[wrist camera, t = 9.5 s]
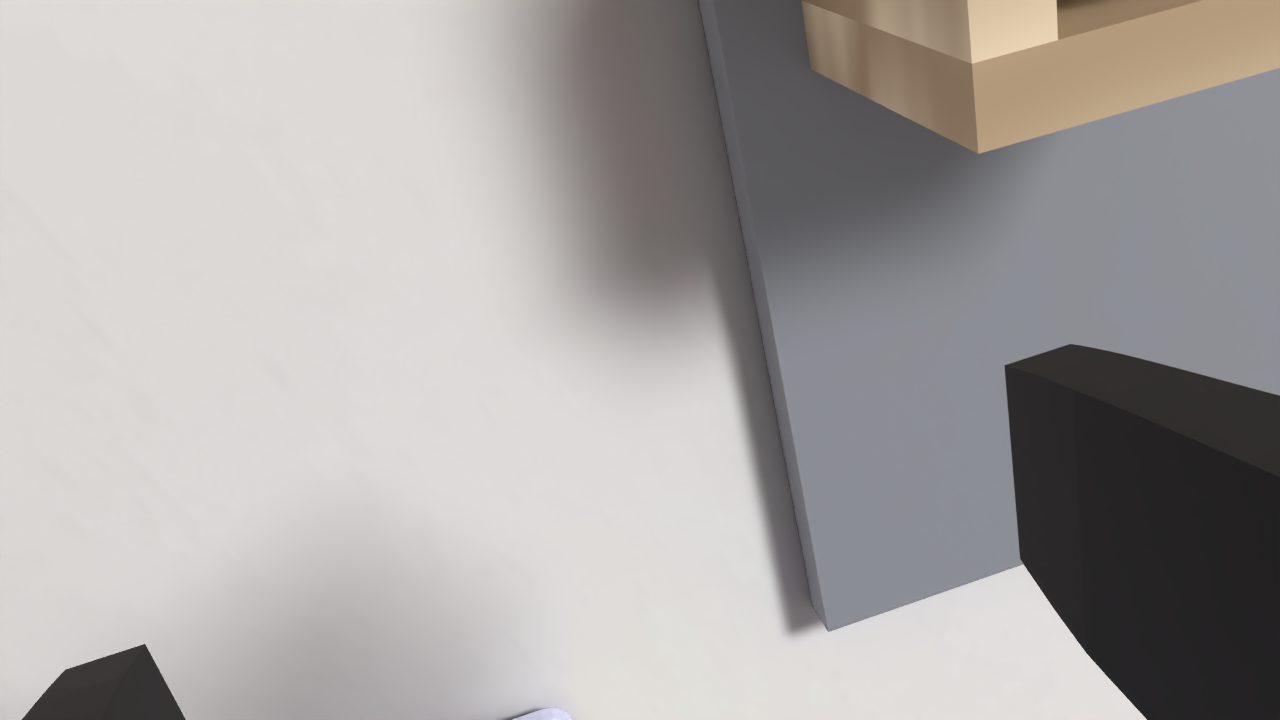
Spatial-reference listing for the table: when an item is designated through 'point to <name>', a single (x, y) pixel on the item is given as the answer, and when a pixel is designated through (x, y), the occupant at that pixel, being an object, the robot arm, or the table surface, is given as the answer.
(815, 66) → the birch collar
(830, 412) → the slate board
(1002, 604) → the table surface
